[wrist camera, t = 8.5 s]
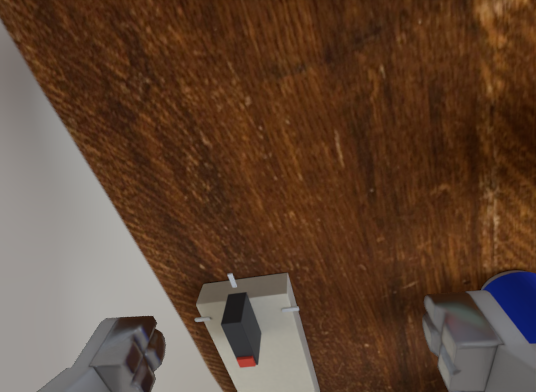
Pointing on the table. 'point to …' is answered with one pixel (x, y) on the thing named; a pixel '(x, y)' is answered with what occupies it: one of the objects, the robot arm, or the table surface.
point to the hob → (263, 334)
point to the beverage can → (516, 299)
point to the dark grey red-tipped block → (242, 329)
